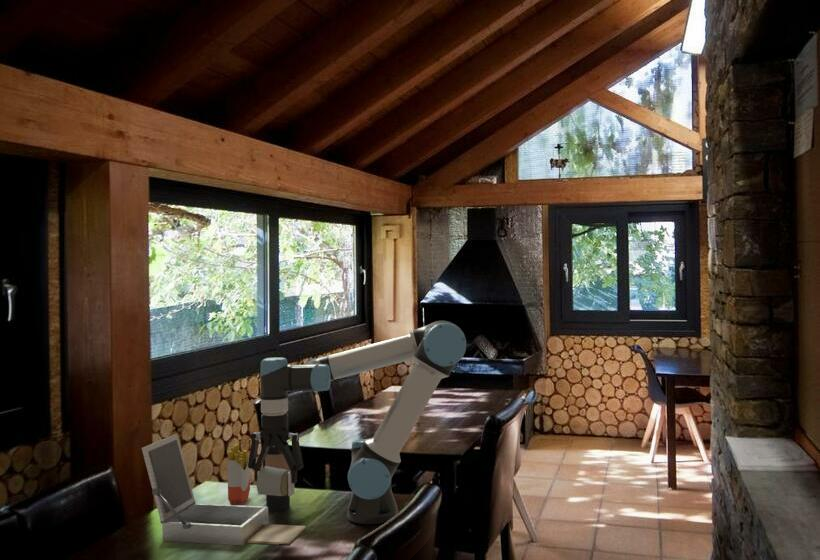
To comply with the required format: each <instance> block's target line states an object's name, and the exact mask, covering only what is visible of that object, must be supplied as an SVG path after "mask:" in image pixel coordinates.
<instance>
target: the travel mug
mask: <svg viewBox="0 0 820 560" xmlns="http://www.w3.org/2000/svg"><path fill="white" fill-rule="evenodd" d="M288 445H289V446H290V444H289V443H288ZM264 466H268V467H274V468H279V469H286V470H288V471H290V468H289V466H288V464H287V462H286V459H285V457H284V455H283V453H282V451H281V450H280V448H279V447H275V446H273V447H270V448H269V450H268V452H267V455H266V457H265V459H264ZM265 497H266V498H265V499H266V507H268V511H270V510H272V511H271V512H280V511H285V510H287V509H289V508H290V506H291V505H290V503H291V501H290V500H291V499H290V498H291V496H288V494H287V495H285V496H275V495H265Z"/></svg>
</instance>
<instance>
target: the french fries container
mask: <svg viewBox="0 0 820 560" xmlns="http://www.w3.org/2000/svg"><path fill="white" fill-rule="evenodd" d="M248 461H249V453H248V450H246V449H241V451H240V443H234V444H233V447H230V450H229V451H227V461H226V462H227V463H226V467H227V471H226V472H227V499H228V502H229V505H244V504H245V503H246V502H247V501H248V500H249V495H250V491H251V480H250V477H251V475H250V468H248ZM246 500H247V501H246ZM245 501H246V502H245ZM244 502H245V503H244Z"/></svg>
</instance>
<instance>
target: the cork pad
mask: <svg viewBox="0 0 820 560" xmlns="http://www.w3.org/2000/svg"><path fill="white" fill-rule="evenodd" d="M306 529H307V525H293V524H292V525H290V524H277V523H276V524H272V523H268V524H267V525H265V526H264V527H263V528H262V529H261V530H260V531H258V532H257V533H256V534H255V535H254V536H252V537H251V538H250V539H249V540H248V541H247V543H249V544H261V545H262V544H263V545H265V544H266V545H267V544H268V545H279V544H290V543H291V542H292V541H293V542H294V541H295V540H296V539H297V538H298V537H299V536H300V535H301V534H302V533H303V532H304V531H305V530H306ZM293 542H292V543H293ZM292 543H291V544H292ZM291 544H290V545H291Z"/></svg>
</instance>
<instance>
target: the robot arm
mask: <svg viewBox="0 0 820 560" xmlns="http://www.w3.org/2000/svg"><path fill="white" fill-rule="evenodd" d="M466 350H467V339H466V336H465V333H464V331H462V329H461V328H460V326H458V325H457V324H456V323H453V322H451V321H448V320H436V321H434V322H431V323H429V324H427V325H424V326H421V327H418V328H413V329H411V330H410V332H409V333H408V334H404V335H401V336H398V337H393V338H391V339H386V340H382V341H379V342H374V343H370V344H367V345H364V346H360V347H355V348H352V349H349V350H343V351H341V352H337V353H333V354H330V355H329V354H328V355H326V356H321V357H314V358H310V359H309V360H307V361H306V362H305V363H304V364H289V363H288V359H287V358H285V357H266V358H264V359H262V360H261V361H260V374H259V378H260V379H259V380H260V381H259V382H260V384H259V385H260V413H261V417H260V423H261V424H260V425H261V430H260V431H259V432H258V431H254V432H253V433H251V434H250V438H251V439H250V440H251V441H250V442H251V443H250V450H249V454H248V457H249V461H248V468H249V469H252V470H253V471H254V482H255V483H257V477H258V474H259V472H260V470H261V469H262V468H263V465H264V463H265V457H266V455H267V452H268V450H269V448H270V447H273V446H275V447H279V448H280V450H281V451H282V453H283V455H284V457H285V459H286V462H287V464H288V466H289V469H290V471H289V472H288V496H290V497H291V496H293V495H294V494H295V484H296V483H297V481H298V471H300V470H302V469H303V468H304V466H305V464H304V461H303V456H302V455H303V454H302V450H301V445H300V442H299V441H300V433H299V432H296V433H293V432H290V429H289V414H288V411H289V395H288V393H293V392H318V393H319V392H323V391H324V392H325V391H329V390H330V387H331V382H332V381H334V380H337V379H342V378H346V377H351V376H354V375H358V374H361V373H366V372H370V371H372V370H377V369H381V368H384V367H388V366H393V365H396V364H400V363H404V362H408V361H411V360H413V362H414V365H413V366H412V368H411V370H410V372H409V373H408V374H407V376H406V379H405V381H404V382H403V383H402V386H401V387H400V389H399V391H398V392H397V394H396V396H395V398H394V400H393V401H392V403H391V404H390V407H389V408H388V410H387V411H386V414H385V416H384V418H383V419H382V421H381V423H380V424H379V427H378V428H377V429H376V431H375V433H374V435H373V437H370V438H362V439H356V440H353V441H352V443H351V447H350V451H351V462H350V466H349V469H348V471H347V481H348V482H347V483H348V485H349V488H350V489H351V492H352V493H351V496H350V499H349V504H348V507H347V513H346V514H347V520H349V521H350V522H352V523H356V524H361V525H380V524H385V523H386V522H385V521H387V520H389V519H390V518H391V517H393V516H394V515H396V514H397V513H399V509H398V505H397V501H396V499H395V497H394V494H393V491H392V478H393V476H394V474H395V472H396V470H397V469H398V467H399V465H400V463H401V462H402V460H401V455H400V453H401V450H402V449H403V448H404V445H405V444H406V442H407V440H408V439H409V436H410V435H411V433H412V431H413V429H414V427H415V426H416V424H417V422H418V420H419V419H420V417H421V415H422V413H423V412H424V410H425V408H426V406H427V404H428V403H429V401H430V400H431V398H432V396H433V394H434V392H435V391H436V389H437V387H438V385H439V384H440V382H441V380H443V379H445V378H448V377H450V375H451V373H452V372H453V370H454V368H455V366H456V365H457V363H458V362H460V361H461V359H463V357H464V355H465V353H466ZM260 439H262V440H263V444H262V446H261V450H260V453H259V455H258V450H259V444H260ZM288 439H289V440H290V442H291V447H292V452H293V454H292V452H291V450H290V444H289V443H288V441H287V440H288ZM288 444H289V445H288ZM257 495H259V496H260V495H262V494H260V493H259V492H258V491H257ZM384 522H385V523H384Z"/></svg>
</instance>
